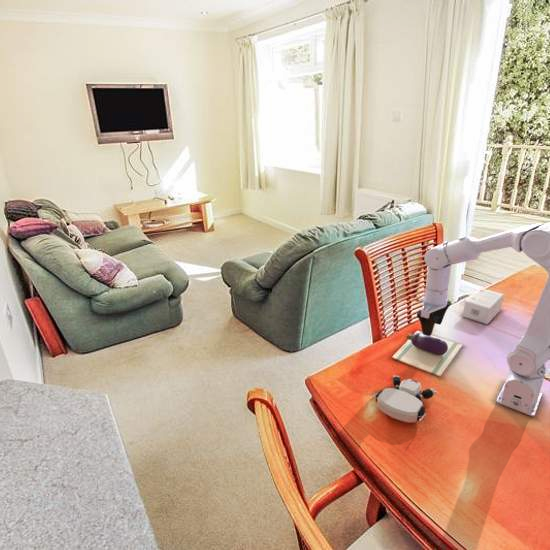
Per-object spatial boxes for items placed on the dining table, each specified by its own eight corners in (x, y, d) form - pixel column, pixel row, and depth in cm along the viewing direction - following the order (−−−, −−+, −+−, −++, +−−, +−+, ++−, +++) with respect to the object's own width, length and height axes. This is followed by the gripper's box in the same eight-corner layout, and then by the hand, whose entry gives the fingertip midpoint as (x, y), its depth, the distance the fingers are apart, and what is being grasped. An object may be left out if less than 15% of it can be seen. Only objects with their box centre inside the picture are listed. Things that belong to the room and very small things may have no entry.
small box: (486, 325, 124) (501, 310, 131) (489, 308, 121) (504, 294, 129) (461, 316, 129) (477, 303, 137) (464, 300, 127) (480, 287, 134)
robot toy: (391, 382, 102) (367, 412, 92) (393, 368, 101) (368, 397, 90) (438, 400, 95) (417, 435, 84) (440, 386, 93) (419, 419, 83)
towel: (440, 376, 102) (440, 375, 102) (391, 358, 111) (392, 356, 111) (462, 346, 114) (462, 345, 114) (417, 331, 123) (417, 330, 123)
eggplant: (448, 355, 111) (451, 340, 110) (443, 359, 107) (446, 344, 106) (409, 341, 118) (412, 327, 117) (403, 344, 115) (406, 330, 114)
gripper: (432, 274, 111) (428, 314, 116) (411, 293, 101) (408, 335, 107) (457, 280, 106) (451, 321, 112) (438, 299, 97) (432, 343, 102)
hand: (431, 328), depth 109 cm, fingers open, 7 cm apart
